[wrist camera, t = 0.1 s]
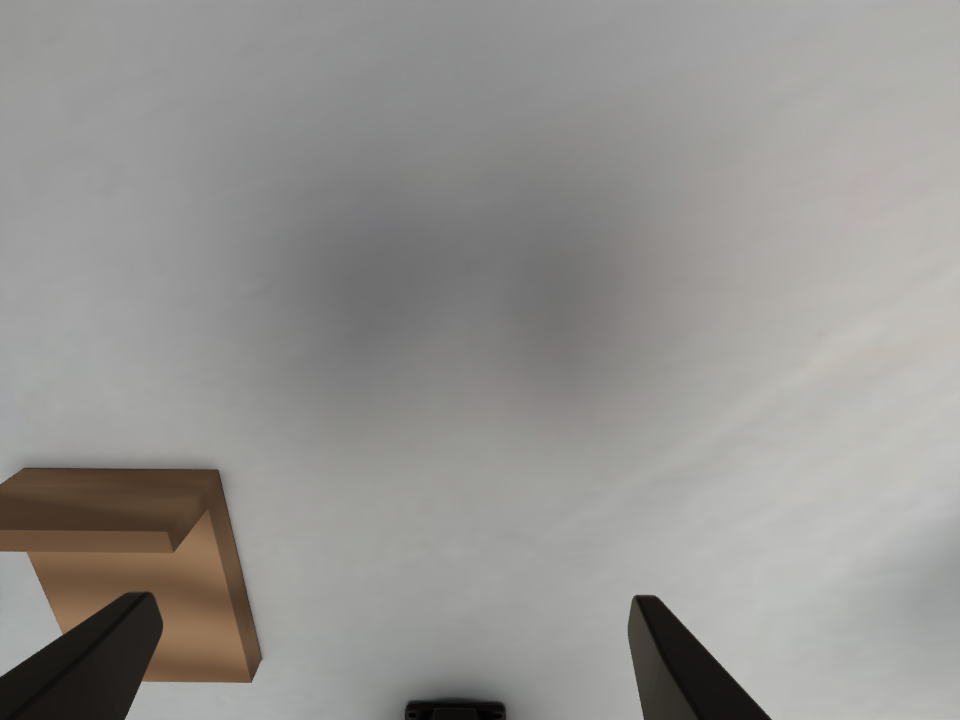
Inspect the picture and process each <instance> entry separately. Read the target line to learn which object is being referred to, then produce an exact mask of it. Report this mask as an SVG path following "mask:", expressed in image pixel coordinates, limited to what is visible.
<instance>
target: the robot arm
mask: <svg viewBox="0 0 960 720" xmlns="http://www.w3.org/2000/svg"><path fill="white" fill-rule="evenodd" d="M162 632H163V619H162V616H161V613H160V610H159V607H158V604H157V601H156V598H155V596H154V594H153V593H152V592H150V591H130V592H127V593H125V594H123V595H121V596H120V597H118V598H117V599H115V600H114V601H112V602H111V603H109V604H108V605H107V606H105V607H104V608H102V609H101V610H99V611H98V612H96V613H95V614H93V615H92V616H90V617H89V618H87V619H86V620H84V621H83V622H81V623H80V624H78V625H77V626H75V627H74V628H72V629H71V630H69V631H68V632H66V633H65V634H64V635H62V636H61V637H59V638H58V639H56V640H55V641H53V642H52V643H50V644H49V645H47V646H46V647H44V648H43V649H41V650H40V651H38V652H37V653H35V654H34V655H32V656H31V657H29V658H28V659H26V660H25V661H23V662H22V663H21V664H19V665H18V666H16V667H15V668H13V669H12V670H10V671H9V672H7V673H6V674H4V675H3V676H1V677H0V720H125V718H126V716H127V713H128V711H129V709H130V707H131V705H132V702H133V700H134V698H135V695H136V693H137V691H138V689H139V686H140V684H141V682H142V679H143V677H144V675H145V672H146V670H147V668H148V666H149V663H150V661H151V659H152V656H153V654H154V652H155V650H156V647H157V645H158V643H159V640H160V638H161V635H162ZM628 639H629V645H630V650H631V655H632V660H633V665H634V670H635V675H636V681H637V686H638V691H639V696H640V701H641V706H642V712H643V716H644V720H772V719H771V718H770V717H769V716H768V715H767V714H766V713H765V712H764V711H763V709H762V708H761V707H760V706H759V705H758V704H757V703H756V702H755V701H754V700H753V699H752V698H751V697H750V696H749V694H748V693H747V692H746V691H745V690H744V689H743V688H742V687H741V686H740V685H739V684H738V683H737V682H736V680H735V679H734V678H733V677H732V676H731V675H730V674H729V673H728V672H727V671H726V670H725V669H724V668H723V667H722V665H721V664H720V663H719V662H718V661H717V660H716V659H715V658H714V657H713V656H712V655H711V654H710V653H709V652H708V650H707V649H706V648H705V647H704V646H703V645H702V644H701V643H700V642H699V641H698V640H697V639H696V638H695V636H694V635H693V634H692V633H691V632H690V631H689V630H688V629H687V628H686V627H685V626H684V625H683V624H682V623H681V621H680V620H679V619H678V618H677V617H676V616H675V615H674V614H673V613H672V612H671V611H670V610H669V609H668V608H667V606H666V605H665V604H664V603H663V602H662V601H661V600H660V599H659V598H658V597H656V596H654V595H635V596H634V597H633V599H632V603H631V609H630V616H629V622H628ZM405 720H506V709H505V707H504V706H502V705H473V704H409V705H407V706H406V709H405Z"/></svg>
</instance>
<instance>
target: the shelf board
mask: <svg viewBox="0 0 960 720" xmlns="http://www.w3.org/2000/svg"><path fill="white" fill-rule="evenodd" d="M0 551H14V552H27V554H28V556H29V558H30V561H31V563H32V565H33V567H34V570H35V572H36V574H37V576H38V579H39V581H40V583H41V586H42V588H43V590H44V592H45V595H46V597H47V599H48V601H49V604H50V606H51V608H52V611H53V613H54V615H55V617H56V620H57V622H58V624H59V626H60V629H61V631H62V633H63V635H64V634H65V633H66V632H68V631H69V630H71V629H72V628H74V627H75V626H77V625H78V624H80V623H81V622H83V621H84V620H86V619H87V618H89V617H90V616H92V615H93V614H95V613H96V612H98V611H99V610H101V609H102V608H104V607H105V606H107V605H108V604H109V603H111V602H112V601H114V600H115V599H117V598H118V597H120V596H121V595H123V594H125V593H127V592H130V591H150V592H152V593H153V594H154V596H155V598H156V601H157V604H158V607H159V610H160V613H161V616H162V619H163V632H162V635H161V638H160V640H159V643H158V645H157V647H156V650H155V652H154V654H153V656H152V659H151V661H150V663H149V666H148V668H147V670H146V672H145V675H144V677H143V679H142V681H149V682H236V683H252V680H253V678H254V676H255V673H256V671H257V669H258V666H259V664H260V662H261V660H262V658H261V654H260V649H259V645H258V641H257V636H256V632H255V628H254V623H253V619H252V615H251V611H250V606H249V602H248V598H247V593H246V589H245V585H244V580H243V576H242V572H241V567H240V563H239V559H238V554H237V550H236V546H235V541H234V537H233V533H232V528H231V524H230V520H229V515H228V511H227V507H226V503H225V498H224V494H223V490H222V485H221V481H220V477H219V472H218V470H151V469H52V468H23V469H22V470H20V471H19V472H18V473H16V474H15V475H13V476H12V477H10V478H9V479H8V480H6V481H5V482H3V483H2V484H0Z"/></svg>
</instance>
